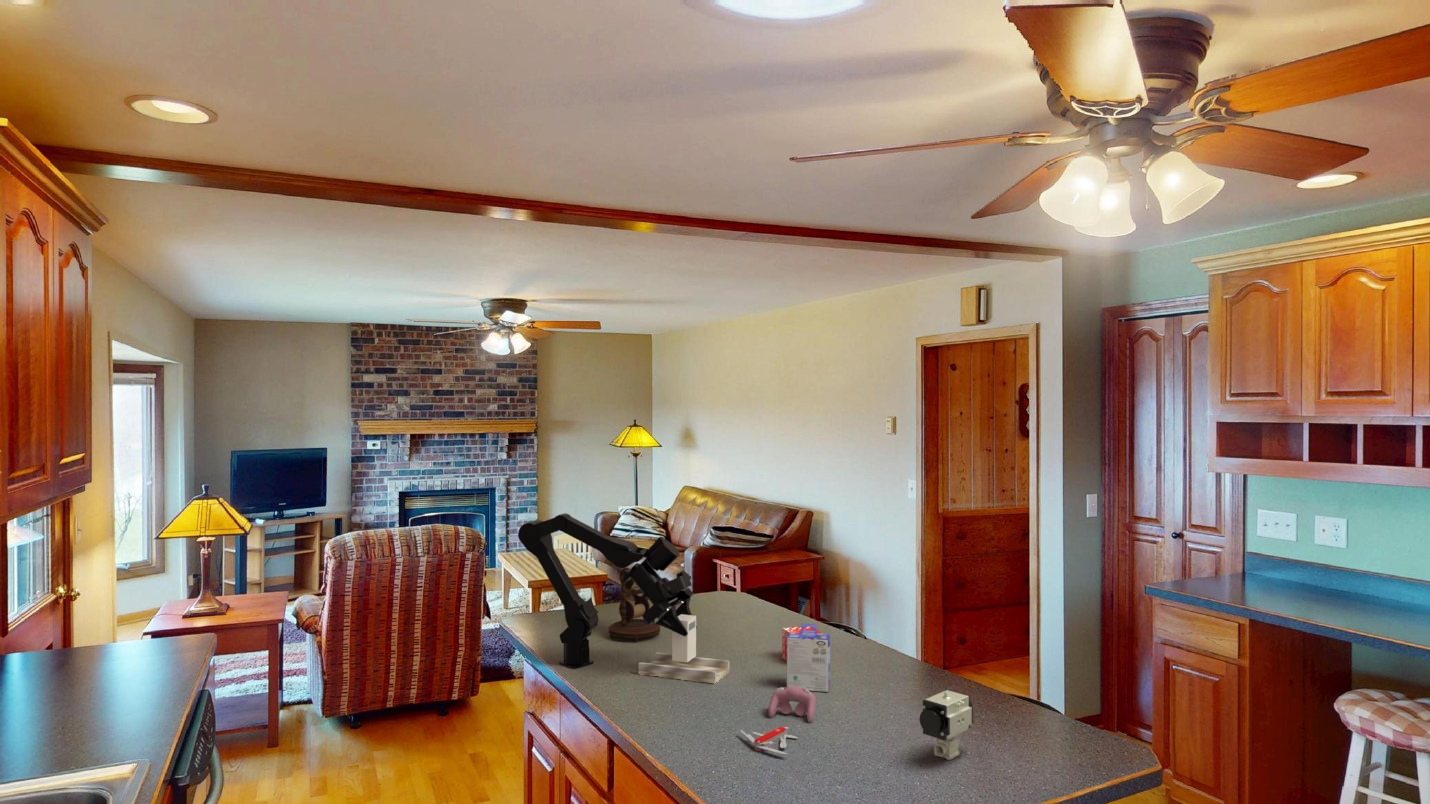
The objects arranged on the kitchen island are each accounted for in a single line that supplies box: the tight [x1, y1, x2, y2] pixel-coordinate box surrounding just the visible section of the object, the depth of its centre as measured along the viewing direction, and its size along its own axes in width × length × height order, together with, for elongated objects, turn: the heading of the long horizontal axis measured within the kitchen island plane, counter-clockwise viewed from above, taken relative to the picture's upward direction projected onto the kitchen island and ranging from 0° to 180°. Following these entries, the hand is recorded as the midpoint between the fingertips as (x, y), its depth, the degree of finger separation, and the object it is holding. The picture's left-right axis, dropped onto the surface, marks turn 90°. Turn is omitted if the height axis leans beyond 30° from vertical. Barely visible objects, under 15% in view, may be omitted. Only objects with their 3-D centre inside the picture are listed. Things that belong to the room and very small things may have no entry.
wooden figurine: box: [608, 567, 661, 643], centre depth 240 cm, size 15×15×20 cm
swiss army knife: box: [739, 726, 799, 756], centre depth 163 cm, size 12×14×2 cm
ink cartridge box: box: [786, 622, 831, 693], centre depth 195 cm, size 10×6×14 cm, turn 78°
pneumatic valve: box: [919, 688, 974, 761], centre depth 157 cm, size 6×12×12 cm, turn 133°
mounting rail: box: [638, 651, 730, 685], centre depth 206 cm, size 20×10×3 cm, turn 69°
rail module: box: [671, 614, 697, 662], centre depth 206 cm, size 4×6×10 cm
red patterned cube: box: [781, 626, 824, 662], centre depth 216 cm, size 8×8×8 cm
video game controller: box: [767, 686, 817, 723], centre depth 177 cm, size 10×5×7 cm, turn 72°
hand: (691, 632), depth 205 cm, fingers closed on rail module, 5 cm apart
